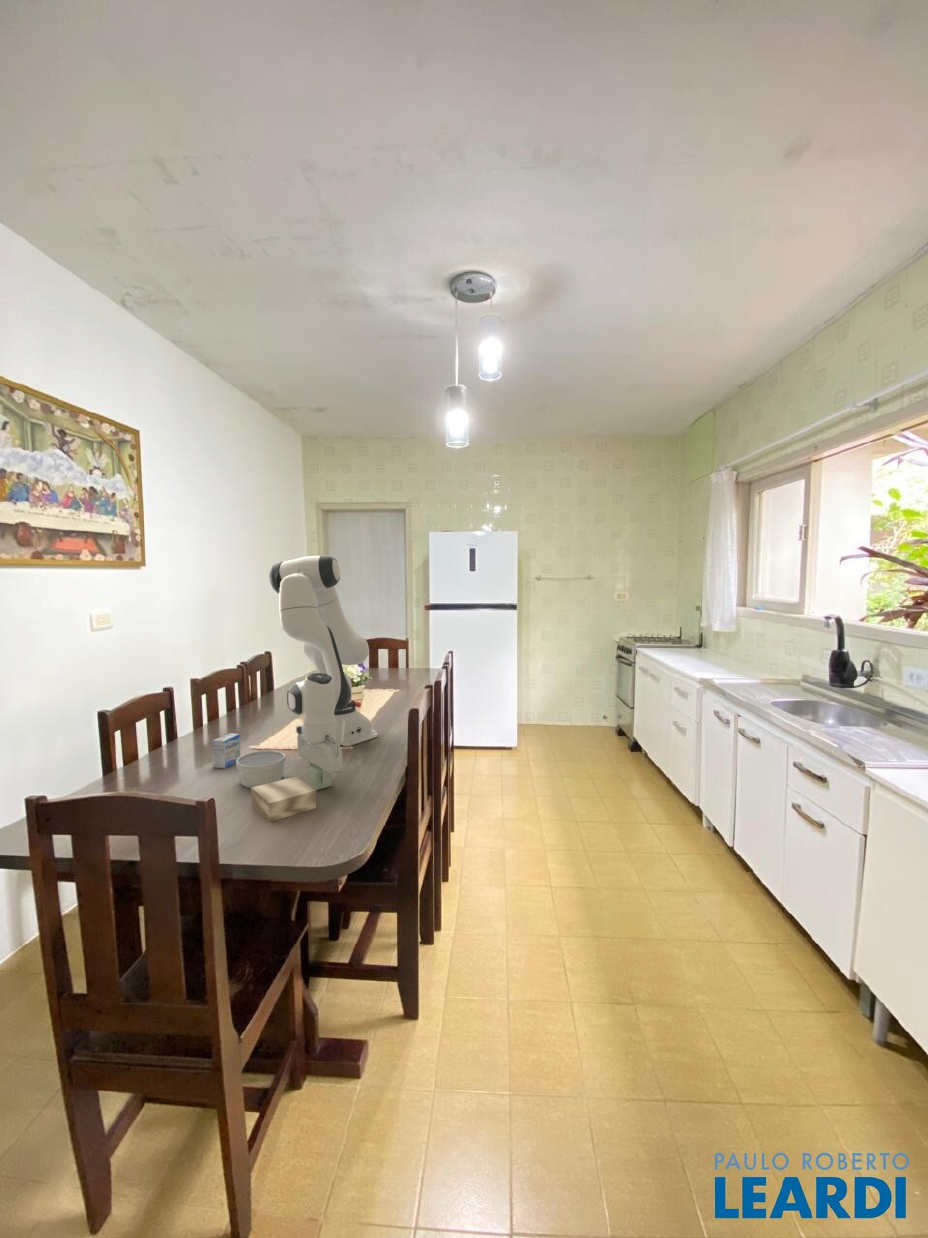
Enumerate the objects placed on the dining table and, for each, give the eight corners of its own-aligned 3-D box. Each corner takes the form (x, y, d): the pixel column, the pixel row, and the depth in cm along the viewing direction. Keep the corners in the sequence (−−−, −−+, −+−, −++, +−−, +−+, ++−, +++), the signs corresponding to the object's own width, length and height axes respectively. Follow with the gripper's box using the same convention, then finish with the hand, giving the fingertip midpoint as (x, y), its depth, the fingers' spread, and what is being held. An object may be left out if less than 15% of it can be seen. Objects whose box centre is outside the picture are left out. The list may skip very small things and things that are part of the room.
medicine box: (224, 769, 158) (224, 741, 157) (211, 767, 159) (211, 740, 158) (240, 760, 166) (240, 733, 165) (228, 759, 166) (228, 732, 166)
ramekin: (255, 794, 140) (255, 769, 140) (226, 783, 147) (226, 759, 147) (295, 779, 152) (294, 756, 151) (266, 769, 159) (265, 747, 158)
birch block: (295, 794, 142) (295, 776, 142) (315, 809, 133) (316, 790, 133) (251, 806, 134) (251, 787, 134) (270, 823, 125) (269, 803, 125)
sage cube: (323, 780, 150) (323, 763, 150) (331, 785, 147) (331, 768, 146) (307, 784, 147) (307, 767, 147) (315, 790, 143) (315, 772, 143)
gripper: (348, 738, 140) (348, 787, 141) (313, 721, 155) (313, 766, 156) (327, 743, 136) (327, 794, 137) (293, 725, 151) (293, 771, 152)
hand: (319, 779), depth 147 cm, fingers closed on sage cube, 5 cm apart
